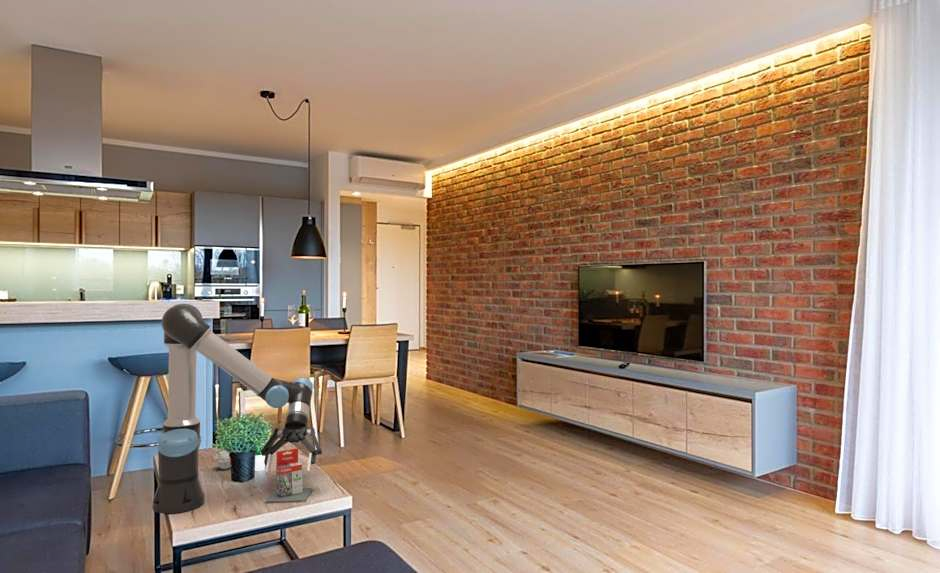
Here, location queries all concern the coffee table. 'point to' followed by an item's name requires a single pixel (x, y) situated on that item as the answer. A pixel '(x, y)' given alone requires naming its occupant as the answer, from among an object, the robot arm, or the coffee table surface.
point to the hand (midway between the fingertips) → (287, 473)
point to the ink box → (288, 473)
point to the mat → (289, 497)
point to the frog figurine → (223, 459)
